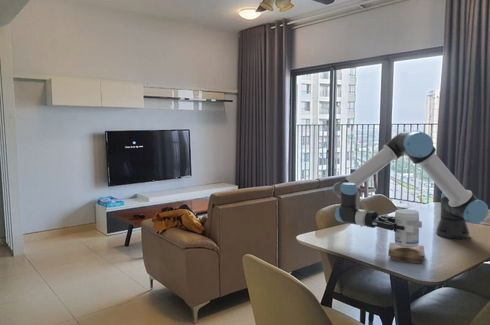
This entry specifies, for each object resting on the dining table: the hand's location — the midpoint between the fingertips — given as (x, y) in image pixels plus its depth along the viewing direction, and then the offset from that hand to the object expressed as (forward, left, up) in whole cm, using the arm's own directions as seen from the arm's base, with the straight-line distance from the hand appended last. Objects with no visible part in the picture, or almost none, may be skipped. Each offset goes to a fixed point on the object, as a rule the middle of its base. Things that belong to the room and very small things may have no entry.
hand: (417, 226), depth 157 cm
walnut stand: (+4, -2, -14) cm, 15 cm away
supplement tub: (+4, -2, -9) cm, 10 cm away
